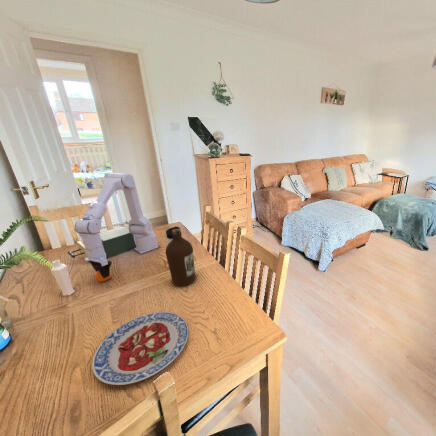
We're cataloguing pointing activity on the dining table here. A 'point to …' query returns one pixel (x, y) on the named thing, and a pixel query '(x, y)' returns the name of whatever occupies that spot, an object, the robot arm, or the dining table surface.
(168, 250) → the brown bottle
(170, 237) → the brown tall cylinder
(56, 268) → the perfume bottle
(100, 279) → the orange
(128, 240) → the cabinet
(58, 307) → the dining table surface
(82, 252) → the drawer
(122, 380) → the ceramic plate
